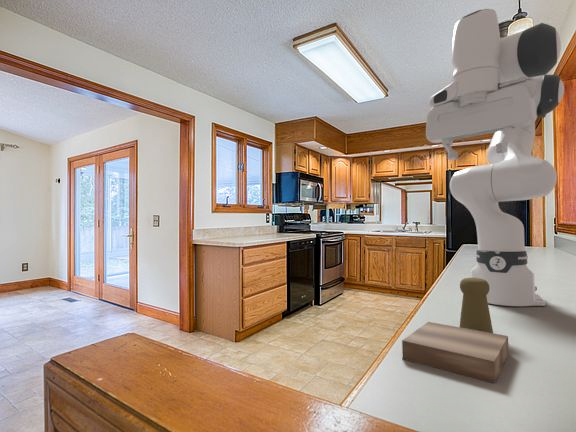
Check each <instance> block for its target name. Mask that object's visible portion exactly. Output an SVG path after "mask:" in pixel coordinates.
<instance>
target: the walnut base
mask: <svg viewBox="0 0 576 432" xmlns="http://www.w3.org/2000/svg"><path fill="white" fill-rule="evenodd" d="M401 345H402V346H401V349H402V360H406V361H410V362H413V363H417V364H421V365H424V366H428V367H432V368H437V369H440V370H444V371H447V372H452V373H454V374H459V375H461V376H462V375H463V376H466V377H469V378H473V379H477V380H481V381H484V380H485V382H488V383H493V384H496V382H497V380H498V378H499V377H500V376H499V375H500V373H501V371H502V369H503V367H504V365H505V362H506V361H507V359H508V357H509V336H508V335H503V334H499V333H494V332H493V333H488V332H483V331H477V330H471V329H466V328H460V326H455V325H454V326H453V325H449V324H442V323H436V322H433V321H431V322H430V321H427V322H426V323H424V324H423V325H421V326H420V327H418V328H417V329H416V330H414V331H413V332H412V333H411V334H409V335H408V336H406V337H405V338H403V339H402V340H401Z"/></svg>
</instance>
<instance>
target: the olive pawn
mask: <svg viewBox="0 0 576 432" xmlns="http://www.w3.org/2000/svg"><path fill="white" fill-rule="evenodd" d="M459 289H460V292H461V293H462V303H461V312H460V320H459V327H460V328H466V329H471V330H477V331H483V332H488V333H494V329H493V325H492V319H491V313H490V308H489V303H488V302H487V296H486V295H487V294H488V293H489V284H488V282H487V281H486V280H484V279H480V278H471V277H465V278H462V279H461V280H460V282H459Z"/></svg>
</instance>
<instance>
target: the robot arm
mask: <svg viewBox="0 0 576 432" xmlns="http://www.w3.org/2000/svg"><path fill="white" fill-rule="evenodd" d="M561 46H562V44H561V37H560V35H559V33H558V31H557V30H556V27H554V26H553V25H550V24H547V23H544V22H541V23H538V24H536V25H533V26H530V27H529V28H526V29H524V30H521V31H519V32H516V33H513V34H510V35H506V36H504V37H501V33H500V25H499V19H498V15H497V11H495V9H491V8H484V9H478V10H476V11H474V12H470V13H468V14H466V15H464V16H462V17H461V18H459V19H458V21H456V23H455V25H454V28H453V36H452V45H451V63H452V66H453V74H452V78H451V83H449V85H447V86H446V87H444V88H443V89H441V90H439V91H438V92H437V93H435V94H433V95H432V96H430V98H429V99H428V103H429V104H428V105H429V106H430V107H431V108H430V110H429V111H428V113H427V115H426V116H427V117H426V123H425V138H426V140H427V141H429V142H430V143H432V144H433V143H434V144H438V143H441V144H442V146H443V148H444V149H445V151H446V152H447V160H449V161H454V160H458V159H459V150H458V151H457V150H454V149H453V148H452V146H453V144H454V141H456V140H460V139H465V138H466V139H467V138H471V137H477V136H482V135H486V134H491V133H494V134H493V136H492V138H491V141H490V143H489V146H488V148H487V150H486V160H487V162H488V163H489V164H482V165H475V166H470V167H467V168H466V167H465V168H463V169H461V170H458V171H455V172H454V174H453V175H452V176H451V178H450V181H449V190H450V194H451V195H452V197H453V198H454V199H455V200H456V201H457V202H459V203H460V204H462V205H463V206H464V207H465V208H466V209H467V210H468V211H469V213H470V214H471V216H472V218H473V219H474V220H473V221H474V223H475V227H476V237H477V238H476V239H477V250H476V254H475V257H476V262H477V264H476V265H475V266H474V267H473V268H472V269H471V270H470V273H471V274H470V278H480V279H484V280H486V281H487V282H488V284H489V293H488V294H487V295H486V296H487V302H488V304H491V305H497V306H507V307H532V306H534V307H535V306H538V307H540V306H542V307H543V306H546V301H545V300H544V299H543V298H542V297H541V296H540V295H539V293H538V292H537V290H538V288H537V286H536V285H535V273H534V272H533V271H532V270H531V269H529V267H528V265H527V264H528V259H529V258H528V253H527V250H525V248H526V247H525V246H526V245H525V227H524V224H523V221H521V220H520V219H519V218H518V217H516V216H514V215H511V214H509V213H506V212H503V210H501V208H500V206H499V202H515V201H516V202H517V201H527V200H528V201H529V200H533V199H538V198H542V197H546V196H548V195H549V194H551V193H552V191H553V190H554V189H555V186H556V185H557V180H558V174H557V171H556V169H555V167H554V165H553V164H551V163H550V162H549V161H548V160H546V159H544V158H543V159H542V158H539V157H536V156H533V155H532V151H533V146H534V143H535V139H536V121H537V119H538V118H539V117H541V119H544V118H546V116H547V114H549V113H551V112H552V111H554V110H555V109H556V108H557V107H558V106H559V105H560V102H561V101H562V99H563V97H564V94H565V85H564V82H563V81H562V77H561V76H559V75H558V74H548V73H549V72H551V70H553V68H554V67H555V66H556V65H557V63H558V61H559V58H560V56H561V51H562V50H561V49H562V48H561Z"/></svg>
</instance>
